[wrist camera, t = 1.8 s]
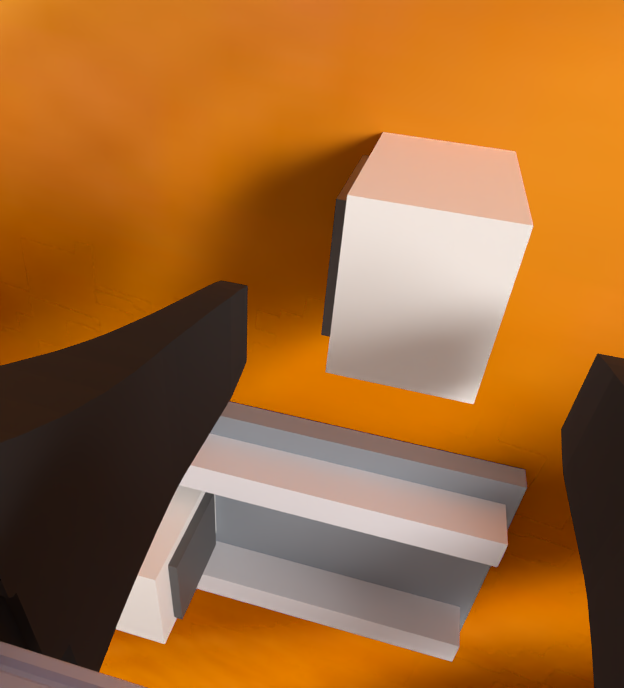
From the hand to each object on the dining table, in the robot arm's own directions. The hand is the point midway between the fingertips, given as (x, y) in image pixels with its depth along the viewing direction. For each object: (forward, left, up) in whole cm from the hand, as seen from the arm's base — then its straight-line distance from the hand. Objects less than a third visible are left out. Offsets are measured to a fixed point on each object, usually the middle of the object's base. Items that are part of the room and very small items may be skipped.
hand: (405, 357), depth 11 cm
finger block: (0, 0, -8) cm, 8 cm away
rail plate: (+3, +16, -8) cm, 18 cm away
